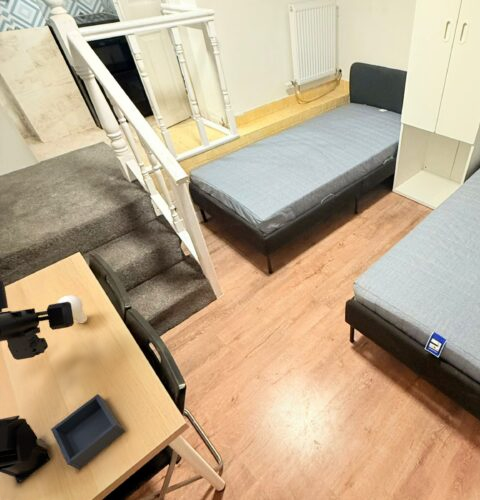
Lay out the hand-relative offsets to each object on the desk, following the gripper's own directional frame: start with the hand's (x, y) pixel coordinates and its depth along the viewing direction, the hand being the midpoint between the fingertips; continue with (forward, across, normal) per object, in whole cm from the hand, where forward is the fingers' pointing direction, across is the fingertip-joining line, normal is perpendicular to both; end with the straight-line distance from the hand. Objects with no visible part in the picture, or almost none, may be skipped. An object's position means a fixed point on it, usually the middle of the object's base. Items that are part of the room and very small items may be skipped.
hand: (52, 314), depth 90 cm
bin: (-12, +13, -29) cm, 33 cm away
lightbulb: (+13, 0, -5) cm, 14 cm away
